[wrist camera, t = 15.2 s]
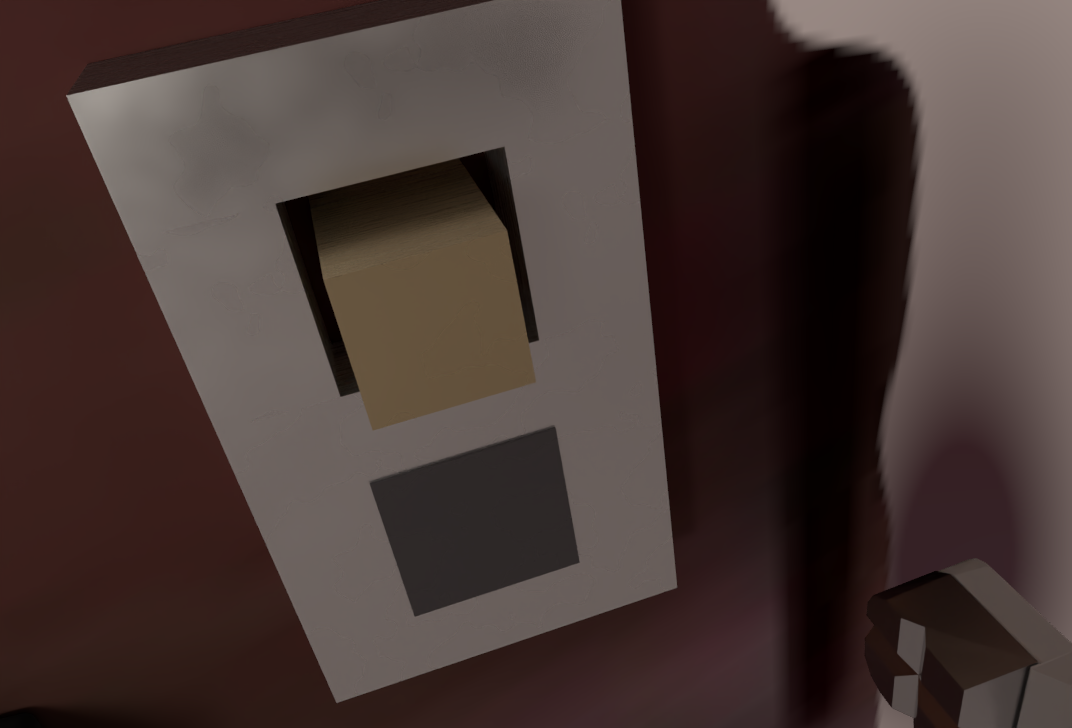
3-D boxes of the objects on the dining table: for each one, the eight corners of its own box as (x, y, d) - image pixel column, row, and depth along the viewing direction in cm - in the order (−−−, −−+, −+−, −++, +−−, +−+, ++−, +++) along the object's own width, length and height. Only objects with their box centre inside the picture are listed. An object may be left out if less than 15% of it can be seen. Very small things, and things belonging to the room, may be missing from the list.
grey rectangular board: (328, 634, 31) (336, 705, 29) (87, 64, 21) (65, 97, 18) (644, 531, 33) (678, 589, 31) (576, -43, 22) (619, -27, 20)
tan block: (347, 314, 26) (372, 430, 21) (305, 185, 23) (323, 279, 18) (480, 278, 26) (536, 382, 21) (452, 148, 24) (507, 230, 19)
